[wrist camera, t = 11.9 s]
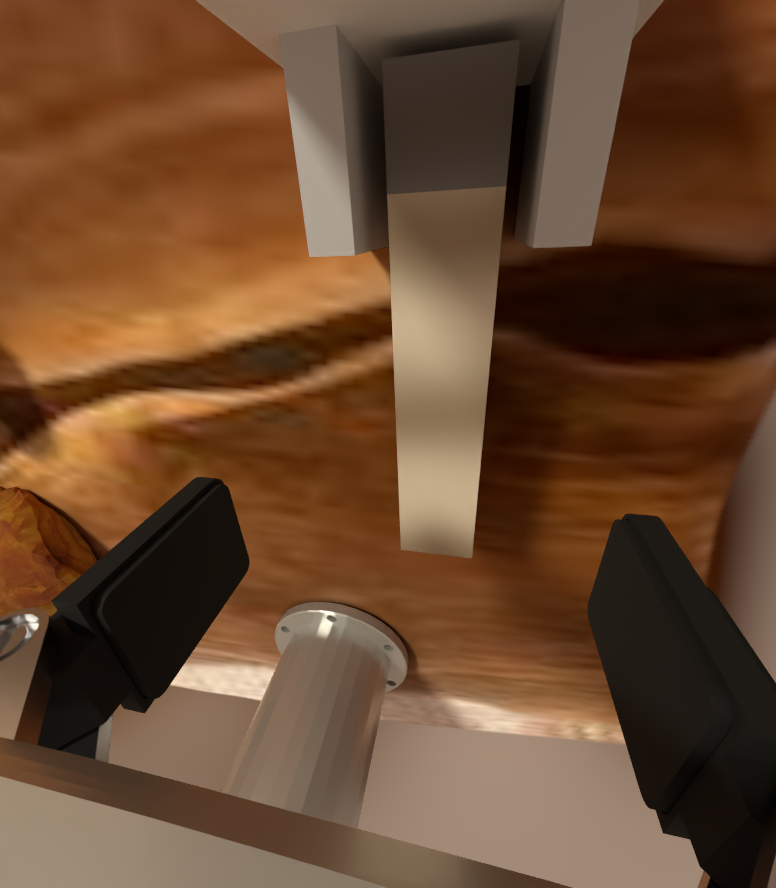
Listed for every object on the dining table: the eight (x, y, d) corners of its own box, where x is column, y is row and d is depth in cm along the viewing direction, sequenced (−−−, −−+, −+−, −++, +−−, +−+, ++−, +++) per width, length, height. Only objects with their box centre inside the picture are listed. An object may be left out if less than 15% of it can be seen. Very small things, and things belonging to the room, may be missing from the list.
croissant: (55, 570, 45) (-13, 638, 38) (-67, 473, 36) (-181, 542, 29) (148, 576, 40) (87, 654, 34) (35, 467, 31) (-75, 547, 25)
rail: (473, 485, 23) (471, 558, 18) (418, 480, 24) (401, 549, 19) (506, 103, 14) (520, 39, 9) (415, 113, 15) (381, 59, 10)
